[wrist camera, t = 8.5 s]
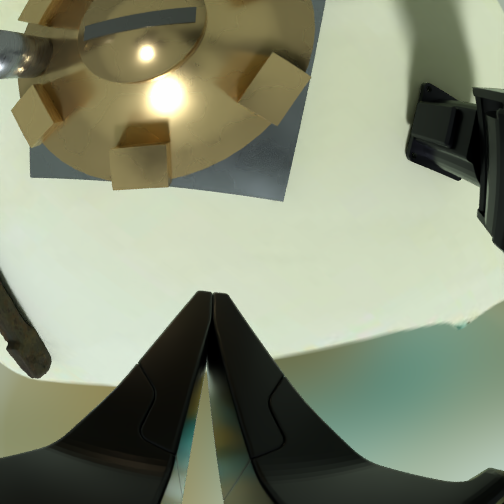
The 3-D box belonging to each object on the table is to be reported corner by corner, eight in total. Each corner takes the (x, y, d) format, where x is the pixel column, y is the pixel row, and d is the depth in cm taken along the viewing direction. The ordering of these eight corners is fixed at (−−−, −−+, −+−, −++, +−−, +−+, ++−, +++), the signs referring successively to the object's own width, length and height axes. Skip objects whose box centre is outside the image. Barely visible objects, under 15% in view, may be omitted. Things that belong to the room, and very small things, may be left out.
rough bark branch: (-35, 225, 17) (-62, 246, 13) (-19, 216, 17) (-48, 239, 13) (39, 357, 27) (26, 384, 23) (59, 358, 27) (46, 387, 23)
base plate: (326, -36, 11) (334, -45, 9) (279, 194, 19) (283, 202, 18) (80, -42, 8) (71, -50, 6) (41, 171, 16) (29, 178, 15)
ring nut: (300, -56, 9) (335, -112, 3) (293, 168, 16) (332, 210, 10) (59, -28, 7) (4, -55, 1) (51, 180, 15) (-14, 223, 9)
